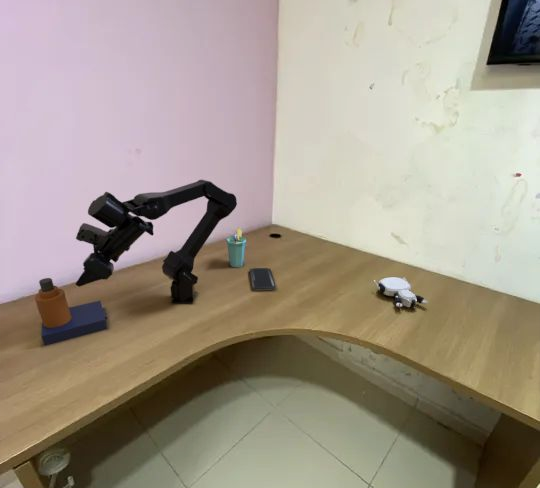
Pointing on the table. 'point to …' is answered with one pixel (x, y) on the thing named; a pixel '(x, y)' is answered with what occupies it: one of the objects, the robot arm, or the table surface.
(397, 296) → the robot toy
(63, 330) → the case
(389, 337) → the table surface
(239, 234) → the cup
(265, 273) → the phone
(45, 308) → the bottle
